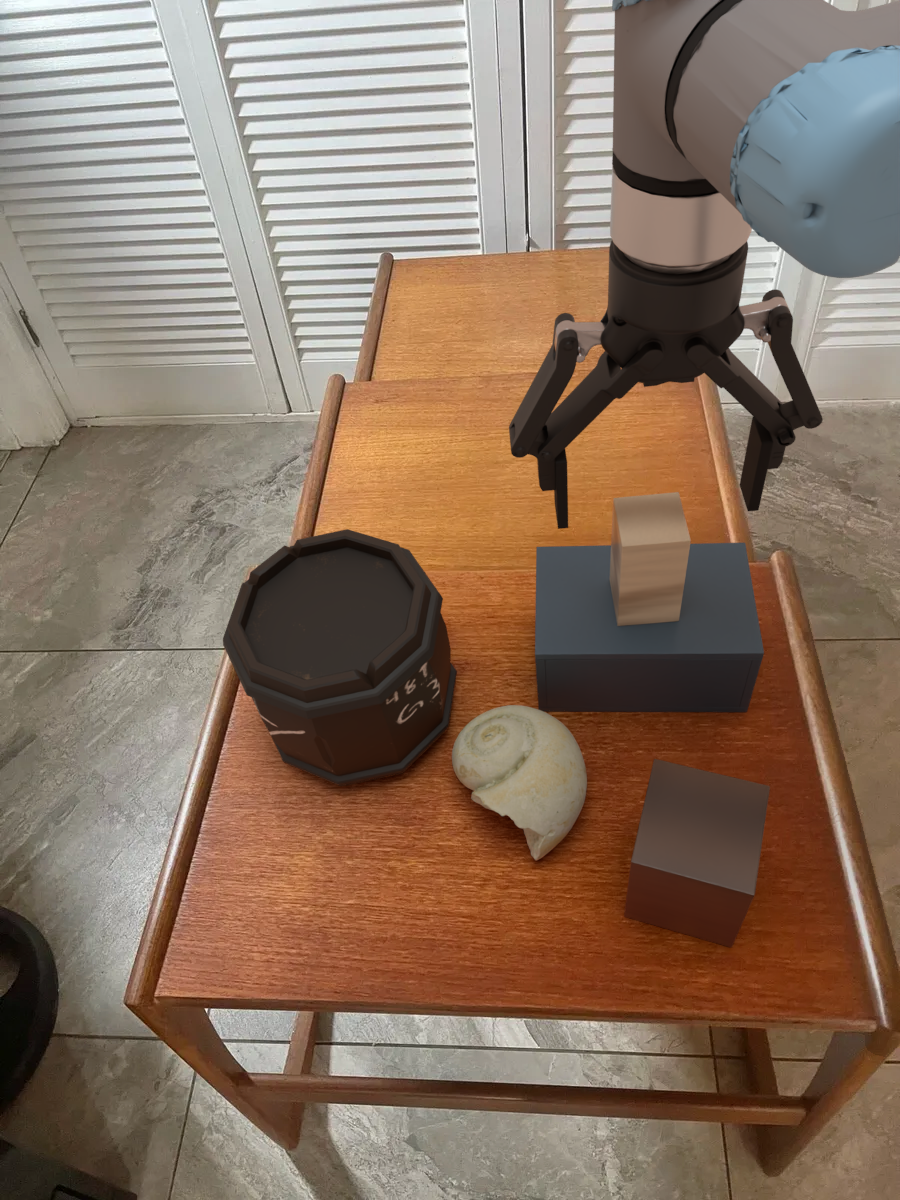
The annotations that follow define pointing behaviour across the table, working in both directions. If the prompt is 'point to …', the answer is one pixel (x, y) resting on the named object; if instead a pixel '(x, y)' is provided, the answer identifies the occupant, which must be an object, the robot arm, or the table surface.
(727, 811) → the plinth
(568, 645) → the lid
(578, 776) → the seashell
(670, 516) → the block
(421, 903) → the table surface
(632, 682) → the chest
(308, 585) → the octagonal dark pot
